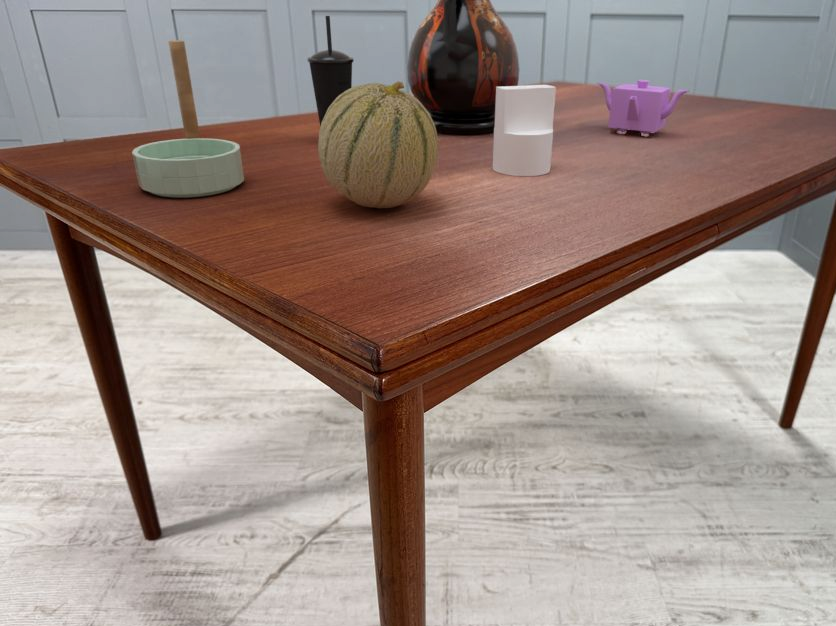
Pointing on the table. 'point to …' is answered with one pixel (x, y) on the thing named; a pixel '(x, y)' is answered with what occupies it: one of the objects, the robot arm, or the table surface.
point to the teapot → (639, 106)
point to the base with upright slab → (523, 130)
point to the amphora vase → (462, 65)
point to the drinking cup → (329, 74)
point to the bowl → (188, 167)
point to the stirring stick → (184, 88)
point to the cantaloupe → (378, 145)
